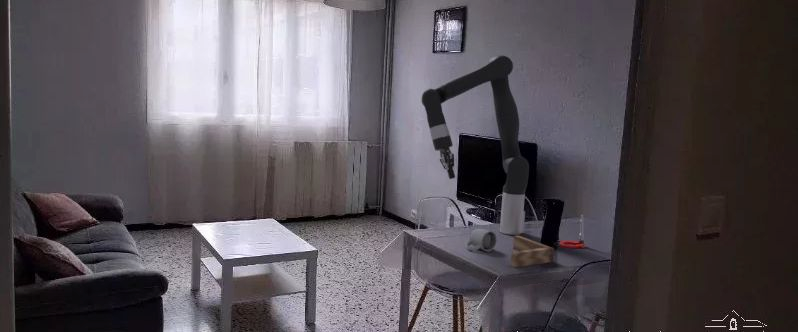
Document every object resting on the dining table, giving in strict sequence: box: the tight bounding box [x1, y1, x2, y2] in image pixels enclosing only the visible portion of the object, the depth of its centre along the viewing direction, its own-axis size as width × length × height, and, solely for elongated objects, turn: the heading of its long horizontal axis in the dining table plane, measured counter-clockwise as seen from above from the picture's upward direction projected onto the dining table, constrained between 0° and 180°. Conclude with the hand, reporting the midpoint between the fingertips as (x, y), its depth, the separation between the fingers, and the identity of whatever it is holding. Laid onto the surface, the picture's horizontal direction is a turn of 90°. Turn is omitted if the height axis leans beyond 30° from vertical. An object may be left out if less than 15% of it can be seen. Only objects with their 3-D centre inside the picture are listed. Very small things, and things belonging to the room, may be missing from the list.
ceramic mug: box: [466, 228, 498, 252], centre depth 229 cm, size 11×8×8 cm
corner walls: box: [510, 235, 555, 268], centre depth 221 cm, size 18×19×5 cm
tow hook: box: [559, 214, 586, 249], centre depth 242 cm, size 8×13×9 cm
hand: (452, 178), depth 243 cm, fingers closed
